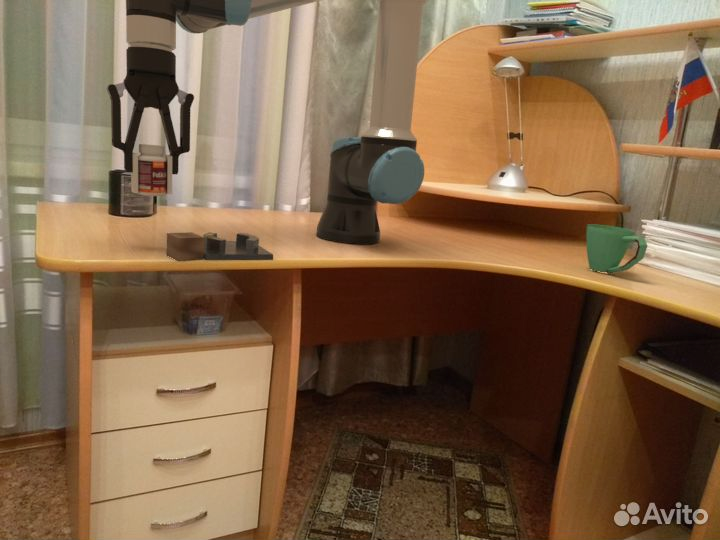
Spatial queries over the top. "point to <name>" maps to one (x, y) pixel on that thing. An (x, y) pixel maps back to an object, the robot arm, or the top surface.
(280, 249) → the top surface
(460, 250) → the top surface
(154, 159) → the pill bottle
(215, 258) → the socket
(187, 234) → the walnut block
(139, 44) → the robot arm
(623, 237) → the mug
